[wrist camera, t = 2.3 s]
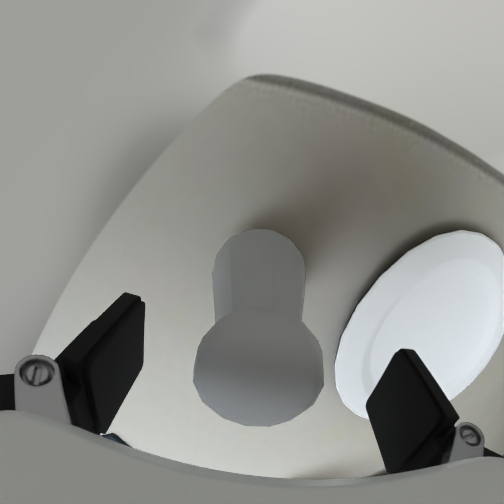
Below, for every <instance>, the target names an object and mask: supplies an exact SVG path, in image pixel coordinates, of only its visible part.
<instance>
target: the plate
mask: <svg viewBox="0 0 504 504" xmlns="http://www.w3.org/2000/svg"><path fill="white" fill-rule="evenodd" d="M503 334H504V254H503V252H502V250H501V249H500V247H499V246H498V244H497V243H495V242H494V241H492V240H491V239H490V238H488V237H487V236H485V235H484V234H482V233H478V232H471V231H465V230H456V231H452V232H448V233H443V234H439V235H434V236H433V237H431V238H429V239H428V240H426V241H424V242H422V243H420V244H419V245H417V246H415V247H413V248H411V249H410V250H408V251H406V252H405V253H404V254H403V255H402V256H401V257H400V258H399V259H398V260H396V261H395V262H394V263H393V264H392V265H391V266H390V267H389V268H387V269H386V270H385V271H384V272H383V273H382V274H381V275H379V277H378V278H377V279H376V281H375V282H374V283H373V285H372V286H371V287H370V289H369V290H368V291H367V292H366V294H365V295H364V296H363V298H362V299H361V300H360V301H359V303H358V304H357V305H356V307H355V309H354V311H353V313H352V315H351V317H350V319H349V321H348V323H347V325H346V327H345V329H344V331H343V333H342V334H341V338H340V342H339V346H338V350H337V354H336V358H335V362H334V367H335V385H336V388H337V391H338V393H339V395H340V397H341V399H342V401H343V403H344V405H346V406H347V407H348V408H349V409H350V410H351V411H353V412H354V413H355V414H356V415H358V416H360V417H363V418H366V419H369V417H368V414H367V411H366V402H367V400H368V398H369V396H370V395H371V393H372V392H373V390H374V388H375V387H376V385H377V383H378V382H379V380H380V378H381V376H382V375H383V373H384V371H385V369H386V368H387V366H388V364H389V362H390V360H391V358H392V357H393V355H394V353H395V352H398V350H399V349H401V348H404V349H413V350H415V351H416V353H417V354H418V355H419V357H420V358H421V360H422V361H423V363H424V364H425V365H426V367H427V368H428V370H429V371H430V373H431V374H432V376H433V377H434V379H435V380H436V382H437V383H438V384H439V386H440V387H441V389H442V391H443V392H444V394H445V395H446V397H447V398H448V400H449V401H450V400H451V399H453V398H454V397H456V396H457V395H458V394H459V393H460V392H461V391H463V390H464V389H465V388H466V387H467V386H468V385H469V384H471V383H472V381H473V380H474V379H475V378H476V377H477V376H478V375H479V373H480V372H481V371H482V370H483V369H484V367H485V366H486V365H487V363H488V362H489V360H490V359H491V357H492V355H493V354H494V352H495V350H496V349H497V347H498V345H499V343H500V341H501V338H502V336H503ZM369 420H370V419H369Z"/></svg>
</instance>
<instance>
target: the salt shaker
mask: <svg viewBox="0 0 504 504" xmlns="http://www.w3.org/2000/svg"><path fill="white" fill-rule="evenodd" d="M212 275H213V292H214V308H215V322H216V324H215V325H214V326H213V327H212V328H211V329H210V330H209V331H208V332H207V333H206V335H205V336H204V337H203V338H202V340H201V343H200V345H199V347H198V351H197V356H196V360H195V365H194V374H193V383H194V385H195V387H196V389H197V391H198V394H199V396H200V398H201V400H202V402H204V403H205V404H206V405H207V406H208V407H210V408H211V409H212V410H213V411H214V412H216V413H217V414H218V415H219V416H221V417H223V418H224V419H227V420H230V421H233V422H236V423H239V424H242V425H245V426H268V427H269V426H272V425H276V424H280V423H283V422H287V421H290V420H292V419H293V418H295V417H296V416H298V415H299V414H300V413H302V412H303V411H305V410H306V409H308V408H309V407H310V406H312V405H313V404H314V403H315V401H316V399H317V397H318V395H319V393H320V392H321V390H322V388H323V386H324V371H323V357H322V350H321V347H320V345H319V342H318V340H317V339H316V338H315V336H314V335H313V334H312V333H311V331H310V330H309V329H308V328H307V327H306V325H305V324H304V323H303V322H302V321H301V320H302V311H303V302H304V292H305V281H306V273H305V266H304V259H303V256H302V254H301V253H300V252H299V250H298V249H297V248H296V246H295V245H294V243H293V242H292V241H291V240H290V239H289V238H287V237H285V236H283V235H281V234H279V233H277V232H275V231H273V230H271V229H249V230H247V231H245V232H242V233H240V234H238V235H235V236H233V237H231V238H230V239H229V240H228V241H227V242H226V244H225V245H224V246H223V247H222V249H221V250H220V251H219V252H218V254H217V257H216V261H215V265H214V269H213V273H212Z"/></svg>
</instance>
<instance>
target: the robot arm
mask: <svg viewBox="0 0 504 504" xmlns="http://www.w3.org/2000/svg"><path fill="white" fill-rule="evenodd" d="M144 320H145V302H142V301H141V297H140V296H136V295H133V294H130V293H126V292H125V293H123V294H122V295H121V296H120V297H119V298H118V299H117V300H116V301H115V302H114V303H113V304H112V305H111V306H110V307H109V308H108V309H107V310H106V311H105V312H103V313H102V314H101V315H100V316H99V317H98V318H97V319H96V320H94V321H92V322H91V323H90V324H89V325H88V326H87V327H86V328H85V329H84V330H83V331H82V332H81V333H80V334H79V335H78V336H77V337H76V338H75V339H74V340H73V341H72V342H71V343H70V344H69V345H68V346H67V347H66V348H65V349H64V350H63V351H62V352H61V353H60V355H59V356H58V357H57V358H56V359H55V360H53V359H51V358H50V357H47V356H44V355H30V356H27V357H25V358H23V359H22V360H20V361H19V362H18V364H17V365H16V367H15V373H14V374H7V375H0V504H504V457H503V456H501V455H499V454H497V453H495V452H493V451H491V450H489V449H487V448H485V447H484V436H483V433H482V432H481V430H480V429H479V428H478V427H477V426H476V425H474V424H472V423H469V422H462V423H460V424H459V425H458V426H457V427H456V428H455V426H454V424H455V423H456V422H457V420H458V419H459V418H460V417H459V416H458V414H457V412H456V411H455V409H454V408H453V406H452V404H451V403H450V401H449V400H448V398H447V397H446V395H445V394H444V392H443V391H442V389H441V387H440V386H439V384H438V383H437V382H436V380H435V379H434V377H433V376H432V374H431V373H430V371H429V370H428V368H427V367H426V365H425V364H424V363H423V361H422V360H421V358H420V357H419V355H418V354H417V353H416V351H415V350H413V349H404V348H401V349H399V350H398V352H395V353H394V355H393V357H392V358H391V360H390V362H389V364H388V366H387V368H386V369H385V371H384V373H383V375H382V376H381V378H380V380H379V382H378V383H377V385H376V387H375V388H374V390H373V392H372V393H371V395H370V396H369V398H368V400H367V402H366V411H367V414H368V417H369V419H370V422H371V425H372V428H373V431H374V434H375V437H376V440H377V443H378V446H379V449H380V452H381V455H382V458H383V462H384V465H385V468H386V471H387V472H388V473H390V474H389V475H381V476H372V477H362V478H348V479H286V478H272V477H261V476H252V475H244V474H237V473H230V472H224V471H219V470H213V469H208V468H203V467H199V466H194V465H190V464H186V463H182V462H178V461H174V460H170V459H167V458H163V457H160V456H156V455H153V454H150V453H146V452H143V451H140V450H137V449H134V448H131V447H128V446H126V445H123V444H120V443H117V442H115V441H112V440H110V439H107V438H105V437H102V436H99V435H100V433H103V434H105V433H106V432H107V430H108V428H109V427H110V425H111V423H112V421H113V419H114V417H115V415H116V414H117V412H118V410H119V408H120V406H121V405H122V403H123V401H124V399H125V397H126V396H127V394H128V392H129V390H130V388H131V387H132V385H133V383H134V381H135V380H136V378H137V376H138V374H139V373H140V371H141V369H142V366H143V360H144Z"/></svg>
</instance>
